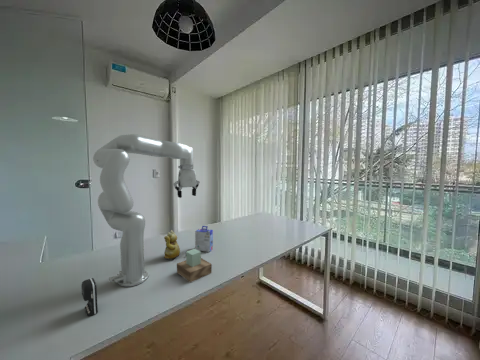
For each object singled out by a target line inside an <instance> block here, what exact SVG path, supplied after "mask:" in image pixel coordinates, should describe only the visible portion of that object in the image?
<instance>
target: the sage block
mask: <svg viewBox="0 0 480 360" xmlns="http://www.w3.org/2000/svg"><path fill="white" fill-rule="evenodd" d="M185 256H186V257H185V258H186V259H185V260H186V264H188V265H190V266H191V267H194V266H196V265H199V264H201V258H202V251H198V250H196V249H195V248H193V249H190V250H188V251H186V253H185Z"/></svg>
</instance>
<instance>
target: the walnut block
mask: <svg viewBox="0 0 480 360" xmlns="http://www.w3.org/2000/svg"><path fill="white" fill-rule="evenodd" d="M212 266H213V265H212V263H211V262H209V261H207V260H206V259H204V258H202V257H201V264H199V265H196V266H194V267H191V266H190V265H188V264H186V259H185V260H183V261H180V262H177V263H176V273H177V274H178V275H180V276H181V277H182V278H183V279H185V280H186V281H187V282H190V283H193V282H195V281H197V280H200V279H202V278H203V277H205V276H208V275H210V274H212V270H213V269H212Z"/></svg>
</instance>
